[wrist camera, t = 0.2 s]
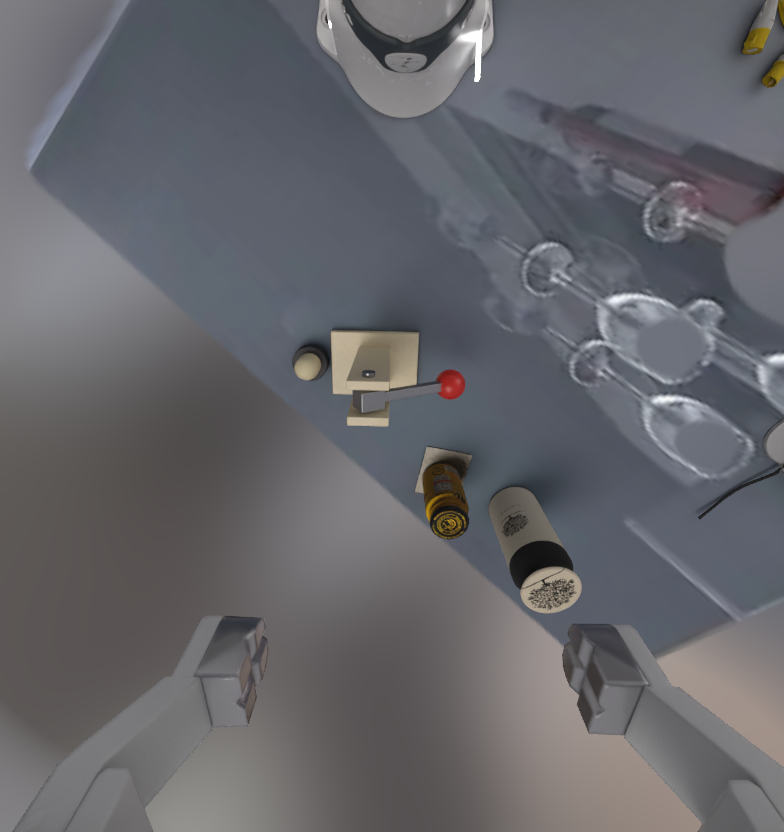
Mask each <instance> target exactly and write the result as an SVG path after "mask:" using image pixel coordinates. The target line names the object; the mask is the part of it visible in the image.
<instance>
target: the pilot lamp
mask: <svg viewBox="0 0 784 832" xmlns="http://www.w3.org/2000/svg"><path fill="white" fill-rule="evenodd" d="M328 365H329V359H328V356H327V354H326V352H325V351H324V350H323V349H322V348H321V347H319V346H317V345H312V344H309V345H305V346H303V347H301V348H300V349H299V350H298V351H297V352H296V353H295V355H294V357H293V368H294V370H295V373H296V374H297V376H298V377H299V378H301V379H303V380H309V381H313V380H317V379H319V378H321V377H322V376H323V375H324V374H325V372H326V370H327V368H328Z"/></svg>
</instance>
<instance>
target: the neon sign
mask: <svg viewBox="0 0 784 832" xmlns="http://www.w3.org/2000/svg"><path fill="white" fill-rule="evenodd" d="M763 446H764V450H765V452H766V454H767V455H768V456H769V457H770V458H771V459H773V460H774V461H776V462H777V463H778V466H779V467H780V468H779V469H778V470H777V471H775V472H774V473H771V474H769V475H766V476H764V477H761V478H759V479H756V480H753V481H751V482H749V483H746V484H744V485H742V486H740V487H738V488H736V489H735V490H733V491H731V492H730V493H728V494H727V495H725V496H724V497H723V498H721V499H720V500H719V501H718V502H716V503H715V504H714V505H713V506H712V507H710V508H709V509H708V510H707V511H705V512H704V513H703V514H702V515H700V516H699V517H698V518H699V519H701V518H702V517H703V516H705V515H706V514H707V513H708V512H710V511H711V510H712V509H713V508H715V507H716V506H717V505H718V504H720V503H721V502H722V501H723V500H725V499H726V498H727V497H729V496H730V495H732V494H733V493H735V492H736V491H738V490H740V489H742V488H744V487H746V486H748V485H750V484H753V483H756V482H758V481H761V480H763V479H766V478H769V477H771V476H774V475H776V474H778V473H779V472H780V470H782V471H783V473H784V419H782V420H781V421H780V422H778V423H777V424H775V425H774V426H773V427H772V428H771V429H770V430H769V431H768V433H767V434H766V436H765V438H764V443H763Z"/></svg>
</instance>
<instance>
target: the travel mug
mask: <svg viewBox="0 0 784 832" xmlns="http://www.w3.org/2000/svg"><path fill="white" fill-rule="evenodd" d="M489 515H490V517H491V520H492V523H493V526H494V528H495V531H496V534H497V537H498V540H499V542H500V545H501V548H502V551H503V554H504V556H505V559H506V562H507V565H508V567H509V570H510V573H511V576H512V579H513V581H514V583H515V585H516V586H517V587H518V588H519V589H520V590H521V598H522V600H523V602H524V603H525V605H526V606H527V607H529V608H530V609H532V610H534V611H537V612H541V613H554V612H559V611H562V610H564V609H566V608H568V607H570V606H571V605H572V604H573V603H574V602H575V601H576V600H577V599H578V597H579V596H580V593H581V589H582V586H581V581H580V579H579V577H578V576H577V575H576V574H575V573H574V572H573V564H572V561H571V559H570V557H569V556H568V554H567V552H566V550H565V549H564V547H563V545H562V543H561V542H560V540H559V538H558V536H557V535H556V533H555V531H554V529H553V528H552V526H551V524H550V522H549V521H548V519H547V517H546V515H545V514H544V512H543V510H542V508H541V507H540V505H539V503H538V501H537V500H536V498H535V496H534V495H533V494H532V493H531V492H530V491H529V490H527V489H524V488H521V487H510V488H506V489H504V490H502V491H500V492H498V493H497V494H496V495H495V496H494V497H493V498H492V500H491V501H490V504H489Z"/></svg>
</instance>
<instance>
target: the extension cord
mask: <svg viewBox="0 0 784 832" xmlns="http://www.w3.org/2000/svg"><path fill="white" fill-rule="evenodd" d="M777 6H778V11H779V15H780V19H781V21H782V24H783V27H784V0H765V2H764V5H763V6H762V8H761V10H760V12H759V13H758V15H757V17H756V19H755V21H754V23H753V24H752V27H751V29H750V32H749V35H748V38H747V40H746V41H745V43H744V45H745V46H744V49H743V51H742V53H744V54H751V55H754V54H758V53H761V51H762V49H763V47H764V44H765V42H766V40H767V37H768V35H769V32H770V30H771V28H772V25H773V23H774V22H775V20H774V18H775V15H776V10H777ZM783 76H784V54H783V55H781V56H779V58H778V60H777V61H776V62H775V63H774V64H773V66H772V69H771V70H770V71H769V72H768V73H767V74H766V75H765V77H764V78H763V80H762V83H763V84H764V85H765V86H767V88H769V87H774V86H775V85H776V84H777V83H778V82H779V81H780V80H781V79H782V77H783Z"/></svg>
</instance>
